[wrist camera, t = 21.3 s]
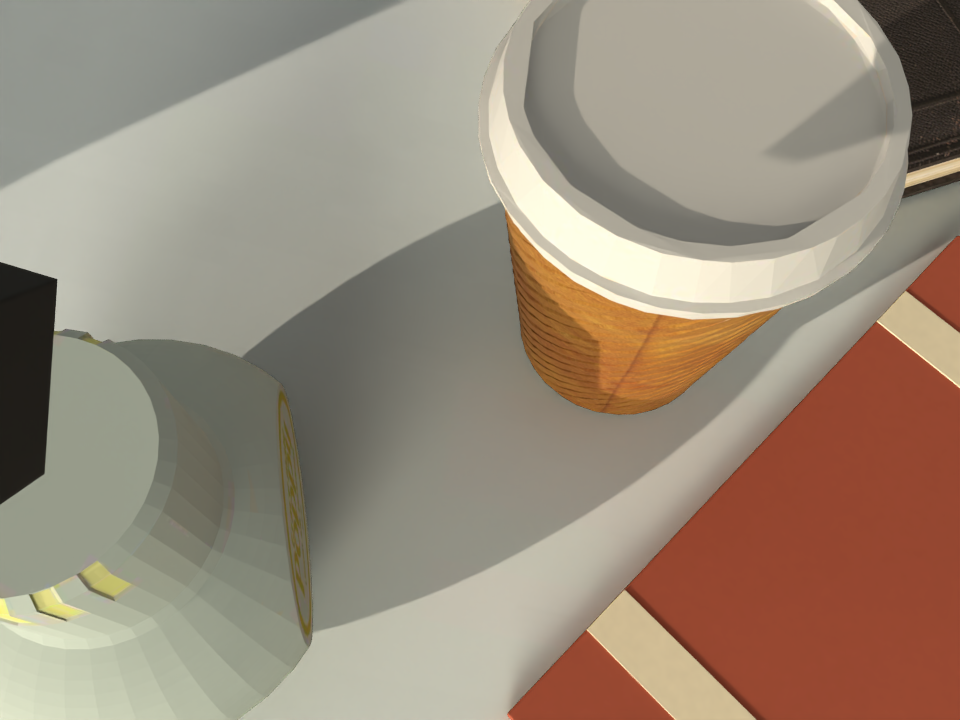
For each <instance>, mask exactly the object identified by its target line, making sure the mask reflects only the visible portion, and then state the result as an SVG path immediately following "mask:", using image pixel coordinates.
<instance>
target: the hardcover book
mask: <svg viewBox="0 0 960 720" xmlns="http://www.w3.org/2000/svg"><path fill="white" fill-rule="evenodd" d="M858 1H859V3H860V4H861V5H862V6H863V7H864V8H865V9H866V10H867V11H868V13H869V14H870V15H871V16H872V17H873V18H874V19H875V20H876V21H877V23H878V24H879V26H880V27H881V29H882V31H883V32H884V34H885V35H886V37H887V38H888V40H889V42H890V43H891V45H892V46H893V48H894V50H895V51H896V53H897V54H898V56H899V58H900V61H901V64H902V68H903V71H904V74H905V77H906V80H907V83H908V86H909V92H910V101H911V109H912V122H911V131H910V139H909V146H908V149H907V150H908V169H907V175H906V182H905V189H904V192H903V195H902V198H906V197H909V196H912V195H915V194H918V193H922V192H925V191H928V190H931V189H935V188H938V187H941V186H944V185H947V184H951V183H954V182H957V181H960V0H858Z"/></svg>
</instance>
